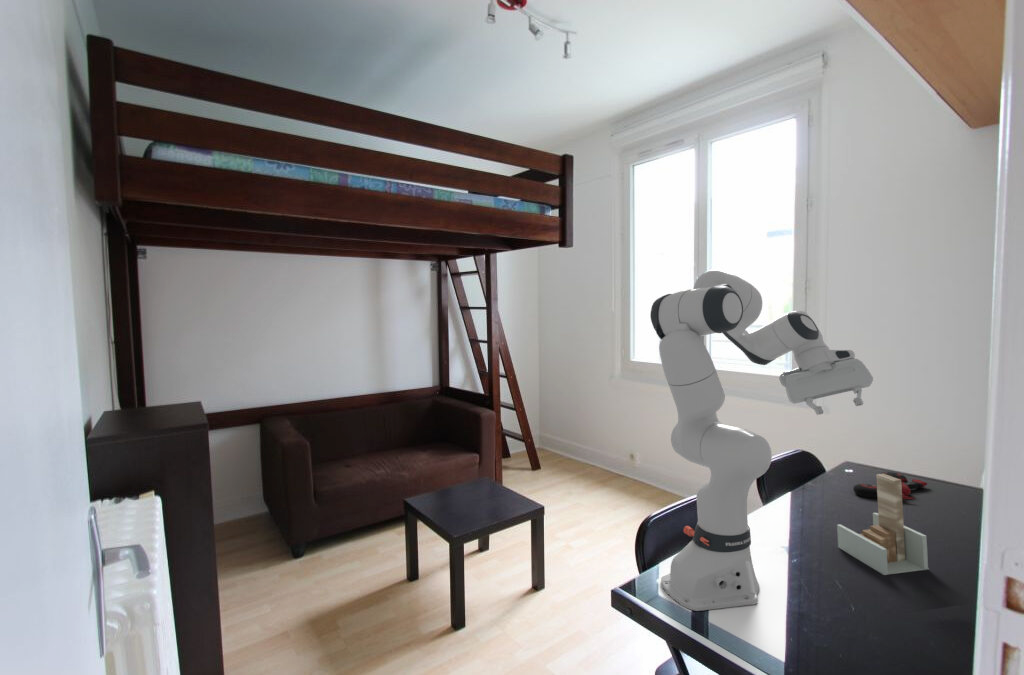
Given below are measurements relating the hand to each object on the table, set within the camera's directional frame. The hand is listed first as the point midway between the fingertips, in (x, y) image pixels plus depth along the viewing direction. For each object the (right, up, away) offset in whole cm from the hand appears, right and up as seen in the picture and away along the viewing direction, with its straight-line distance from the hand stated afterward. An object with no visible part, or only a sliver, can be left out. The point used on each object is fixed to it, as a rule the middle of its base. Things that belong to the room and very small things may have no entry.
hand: (839, 409), depth 126 cm
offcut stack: (+4, -36, -7) cm, 37 cm away
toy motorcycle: (+43, -34, +36) cm, 65 cm away
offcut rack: (+6, -37, -7) cm, 38 cm away
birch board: (+9, -36, -7) cm, 37 cm away
